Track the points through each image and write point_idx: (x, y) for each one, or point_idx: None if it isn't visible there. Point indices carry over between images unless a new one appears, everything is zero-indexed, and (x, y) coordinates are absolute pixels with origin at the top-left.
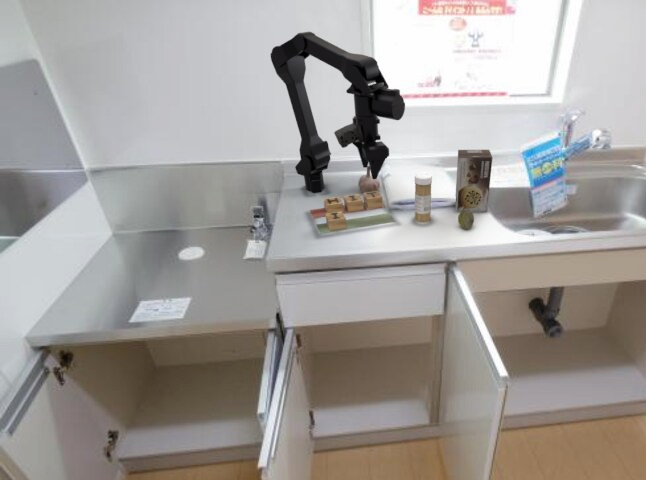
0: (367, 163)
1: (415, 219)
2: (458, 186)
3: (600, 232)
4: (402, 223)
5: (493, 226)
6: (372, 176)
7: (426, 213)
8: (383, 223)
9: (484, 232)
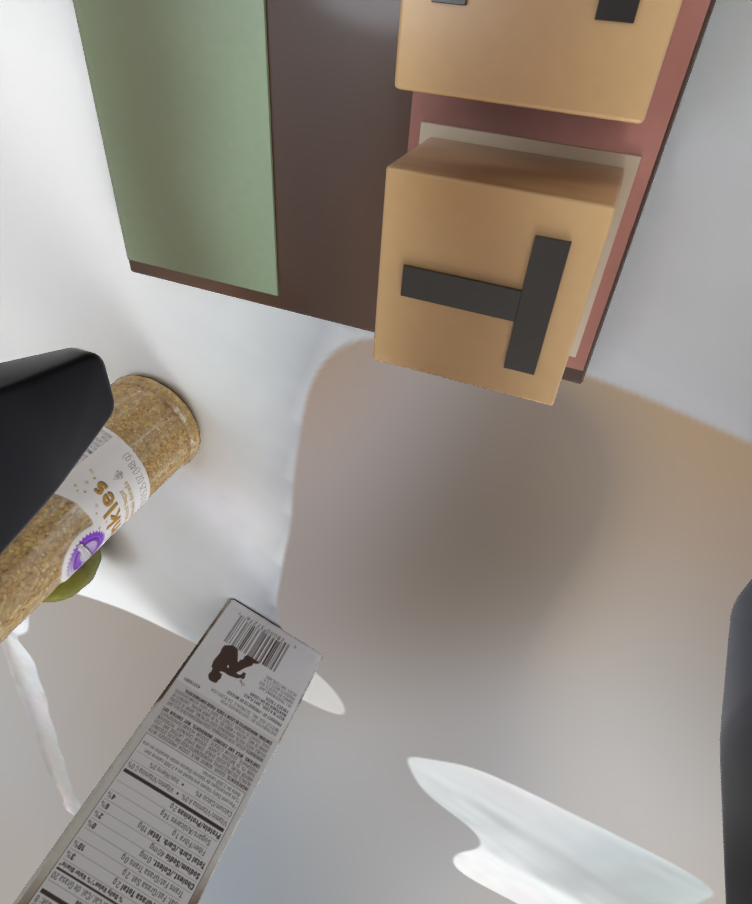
0: (730, 692)
1: (139, 389)
2: (141, 727)
3: (46, 704)
4: (155, 300)
5: (87, 590)
6: (11, 363)
7: None
8: (102, 139)
9: None
